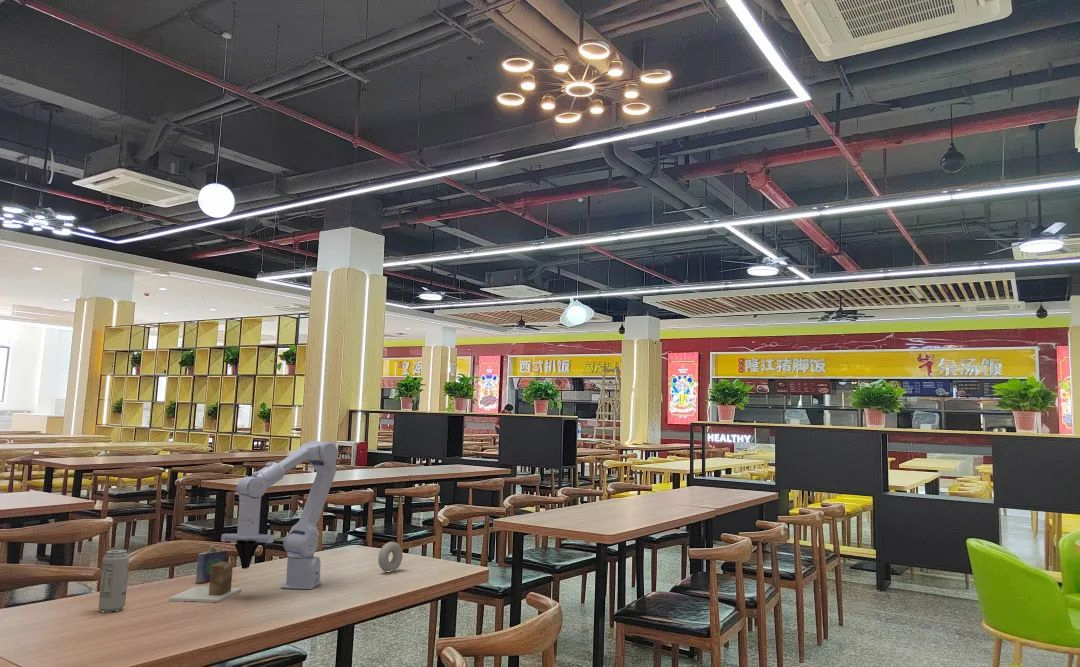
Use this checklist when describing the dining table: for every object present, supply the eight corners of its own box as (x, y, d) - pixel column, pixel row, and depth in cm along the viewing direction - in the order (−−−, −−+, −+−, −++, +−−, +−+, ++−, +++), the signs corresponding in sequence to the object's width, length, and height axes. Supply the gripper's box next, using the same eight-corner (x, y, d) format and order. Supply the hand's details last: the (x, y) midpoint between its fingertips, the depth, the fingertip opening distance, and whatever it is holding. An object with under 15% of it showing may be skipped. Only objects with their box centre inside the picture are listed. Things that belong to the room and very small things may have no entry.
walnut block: (230, 590, 210) (232, 562, 210) (220, 595, 204) (222, 566, 205) (219, 590, 210) (221, 561, 211) (208, 595, 204) (210, 565, 205)
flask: (198, 584, 220) (201, 548, 222) (193, 583, 222) (196, 547, 223) (226, 579, 228) (229, 544, 229) (221, 578, 230) (223, 543, 231)
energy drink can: (127, 610, 190) (132, 551, 191) (101, 614, 185) (107, 554, 187) (121, 606, 194) (126, 548, 196) (95, 609, 190) (100, 550, 192)
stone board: (241, 590, 213) (241, 587, 213) (218, 602, 199) (218, 599, 200) (194, 589, 214) (195, 586, 214) (168, 600, 200) (168, 597, 200)
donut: (396, 569, 248) (398, 539, 249) (404, 570, 246) (405, 540, 248) (375, 574, 240) (376, 543, 241) (382, 575, 238) (383, 544, 239)
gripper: (217, 520, 205) (213, 569, 203) (267, 521, 204) (264, 571, 203) (229, 517, 212) (225, 565, 210) (277, 518, 211) (274, 566, 210)
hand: (245, 567), depth 207 cm, fingers closed
